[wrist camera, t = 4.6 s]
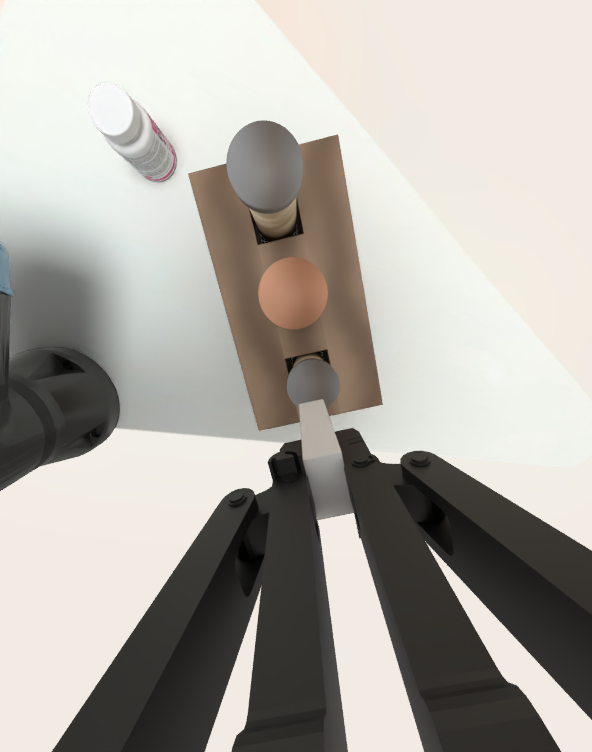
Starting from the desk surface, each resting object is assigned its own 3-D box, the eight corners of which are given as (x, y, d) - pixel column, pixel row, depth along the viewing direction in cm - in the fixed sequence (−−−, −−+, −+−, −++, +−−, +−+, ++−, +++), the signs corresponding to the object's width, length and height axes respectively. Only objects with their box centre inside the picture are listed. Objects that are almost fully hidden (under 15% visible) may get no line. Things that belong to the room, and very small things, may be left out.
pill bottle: (184, 154, 33) (147, 102, 25) (164, 191, 34) (121, 153, 25) (148, 125, 32) (98, 62, 24) (128, 164, 33) (72, 116, 25)
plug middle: (278, 326, 32) (267, 336, 20) (267, 283, 31) (250, 266, 19) (319, 316, 32) (333, 321, 20) (310, 272, 31) (320, 249, 19)
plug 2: (294, 383, 38) (293, 416, 26) (285, 348, 37) (281, 366, 25) (329, 375, 38) (344, 405, 26) (321, 340, 37) (334, 355, 25)
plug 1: (260, 252, 30) (238, 215, 19) (249, 203, 29) (217, 131, 17) (304, 241, 30) (309, 197, 18) (294, 192, 29) (293, 111, 17)
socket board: (266, 407, 40) (258, 430, 32) (212, 205, 34) (188, 173, 26) (365, 385, 39) (382, 404, 31) (328, 175, 33) (337, 134, 25)
